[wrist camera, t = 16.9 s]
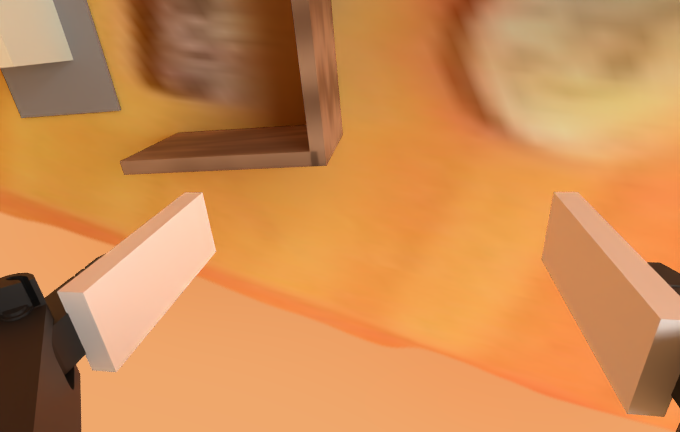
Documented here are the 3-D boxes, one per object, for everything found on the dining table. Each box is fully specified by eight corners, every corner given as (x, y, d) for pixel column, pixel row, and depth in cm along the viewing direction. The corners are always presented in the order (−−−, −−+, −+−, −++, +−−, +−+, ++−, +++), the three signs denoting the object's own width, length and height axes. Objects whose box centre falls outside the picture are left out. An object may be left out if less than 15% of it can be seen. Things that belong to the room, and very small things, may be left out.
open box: (106, -138, 33) (-1, -198, 24) (315, -177, 30) (279, -260, 22) (180, 143, 43) (124, 174, 34) (342, 134, 41) (326, 165, 32)
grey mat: (-47, -53, 38) (-51, -54, 37) (64, -71, 36) (60, -72, 36) (24, 117, 45) (21, 117, 44) (121, 109, 43) (118, 110, 42)
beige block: (3, 4, 39) (-73, 1, 33) (52, -2, 38) (-16, -6, 32) (26, 64, 41) (-40, 71, 35) (73, 60, 41) (13, 66, 34)
